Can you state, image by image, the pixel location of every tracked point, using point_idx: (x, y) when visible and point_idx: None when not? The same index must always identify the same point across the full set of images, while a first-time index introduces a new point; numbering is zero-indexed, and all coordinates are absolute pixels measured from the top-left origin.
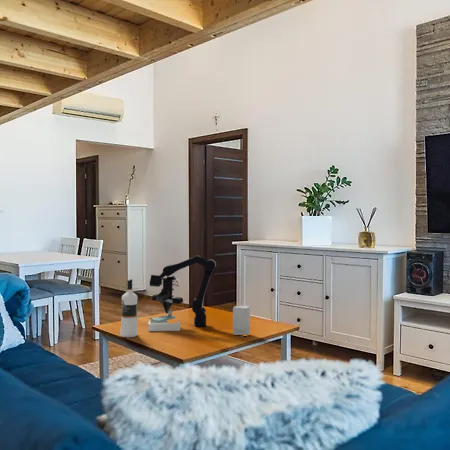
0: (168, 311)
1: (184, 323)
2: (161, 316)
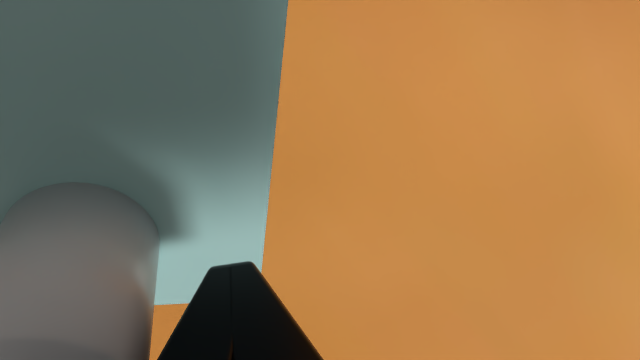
0: (30, 326)
1: None
2: (277, 4)
